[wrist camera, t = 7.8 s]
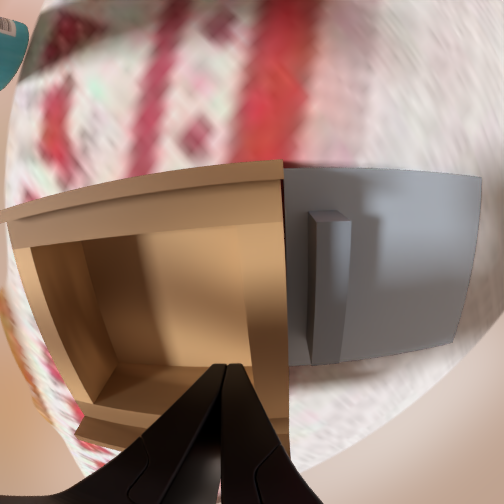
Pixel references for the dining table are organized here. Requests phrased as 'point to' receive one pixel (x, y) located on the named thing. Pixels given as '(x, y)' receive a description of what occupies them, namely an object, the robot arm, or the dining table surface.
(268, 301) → the pine box
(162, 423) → the robot arm
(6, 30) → the tube
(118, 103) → the dining table surface
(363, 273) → the cover plate
